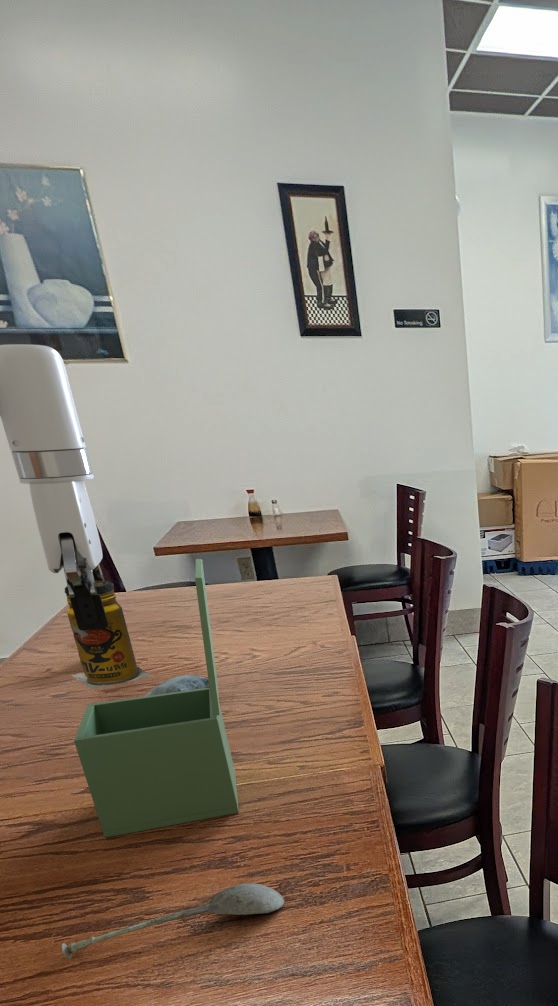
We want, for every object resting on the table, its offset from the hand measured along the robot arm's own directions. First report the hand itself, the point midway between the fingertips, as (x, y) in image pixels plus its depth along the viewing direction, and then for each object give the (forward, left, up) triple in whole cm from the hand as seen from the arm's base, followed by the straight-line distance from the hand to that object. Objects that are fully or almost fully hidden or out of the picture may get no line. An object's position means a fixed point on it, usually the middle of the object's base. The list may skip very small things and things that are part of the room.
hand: (97, 621), depth 102 cm
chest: (0, +4, -27) cm, 27 cm away
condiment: (-1, +1, -8) cm, 8 cm away
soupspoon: (+25, -19, -27) cm, 42 cm away
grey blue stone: (-33, +37, -27) cm, 57 cm away
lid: (+6, +10, -4) cm, 13 cm away
